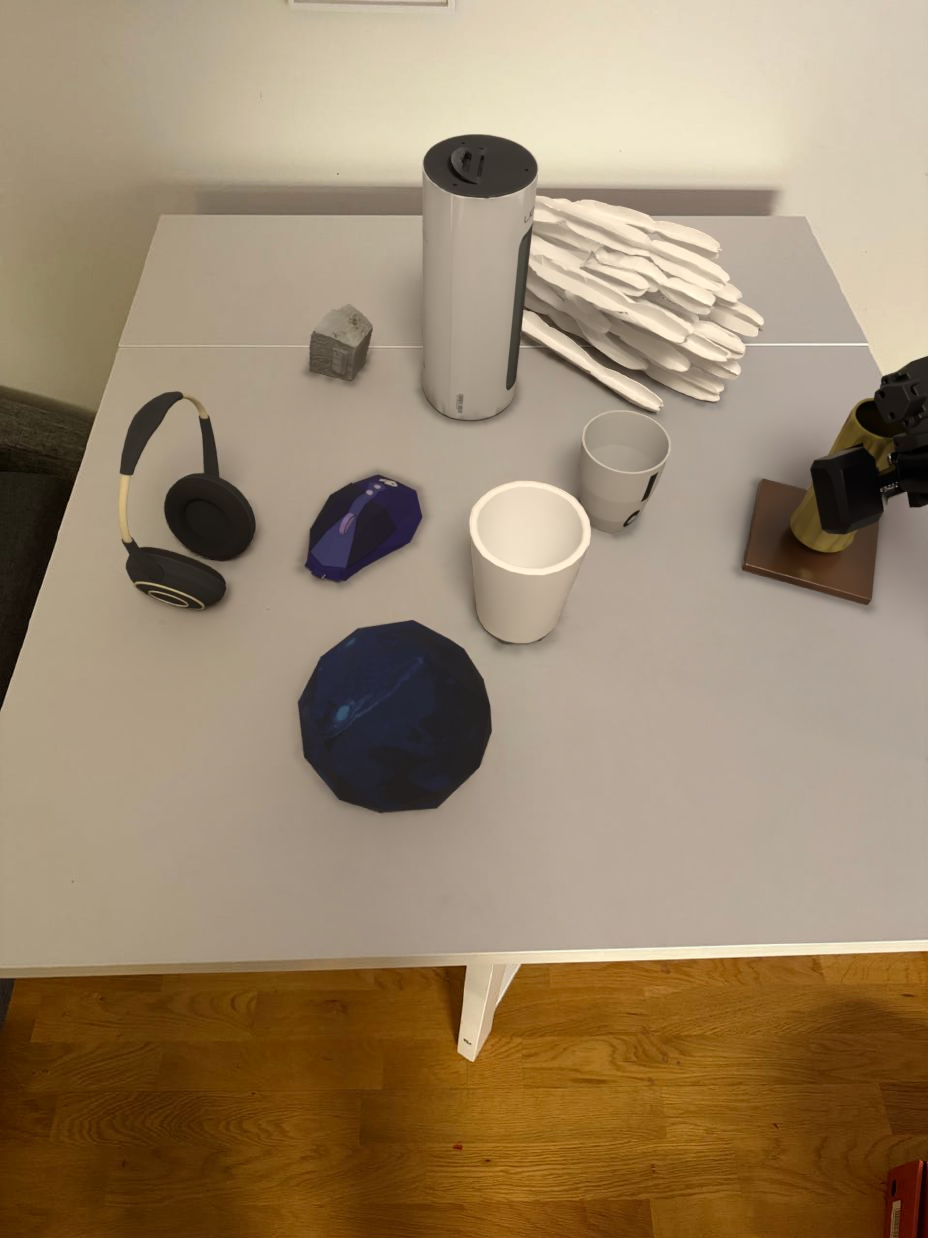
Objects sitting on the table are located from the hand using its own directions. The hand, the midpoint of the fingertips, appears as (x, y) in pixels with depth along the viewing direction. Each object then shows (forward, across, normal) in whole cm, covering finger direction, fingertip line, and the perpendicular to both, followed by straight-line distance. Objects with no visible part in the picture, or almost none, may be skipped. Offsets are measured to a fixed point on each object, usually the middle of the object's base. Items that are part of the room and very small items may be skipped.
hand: (840, 468), depth 79 cm
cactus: (+31, +4, -18) cm, 36 cm away
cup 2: (+14, +17, -1) cm, 22 cm away
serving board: (+6, 0, +7) cm, 9 cm away
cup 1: (+9, +31, +4) cm, 32 cm away
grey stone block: (+35, +33, -22) cm, 53 cm away
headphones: (+20, +56, -7) cm, 60 cm away
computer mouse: (+19, +40, -6) cm, 45 cm away
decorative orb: (+3, +46, +11) cm, 48 cm away
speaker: (+29, +22, -16) cm, 40 cm away
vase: (+4, 0, +6) cm, 7 cm away
